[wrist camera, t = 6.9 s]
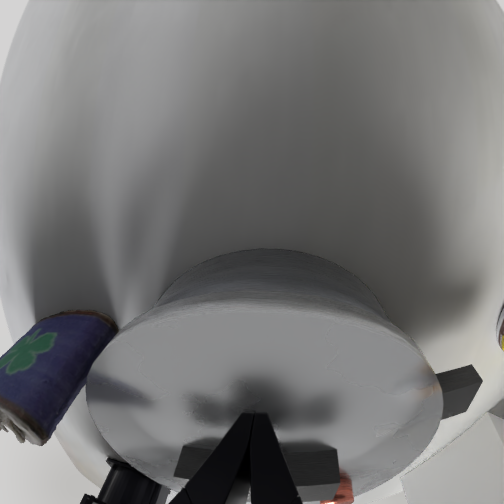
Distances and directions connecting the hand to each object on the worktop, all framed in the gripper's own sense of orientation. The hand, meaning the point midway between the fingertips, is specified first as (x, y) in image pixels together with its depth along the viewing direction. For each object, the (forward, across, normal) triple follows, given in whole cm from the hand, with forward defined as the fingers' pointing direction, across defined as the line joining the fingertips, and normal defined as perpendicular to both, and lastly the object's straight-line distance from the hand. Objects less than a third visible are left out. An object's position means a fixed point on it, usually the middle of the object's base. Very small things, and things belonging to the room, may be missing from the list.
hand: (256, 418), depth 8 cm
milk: (+6, -22, +22) cm, 32 cm away
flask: (+6, +13, +2) cm, 15 cm away
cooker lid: (+1, 0, +3) cm, 4 cm away
